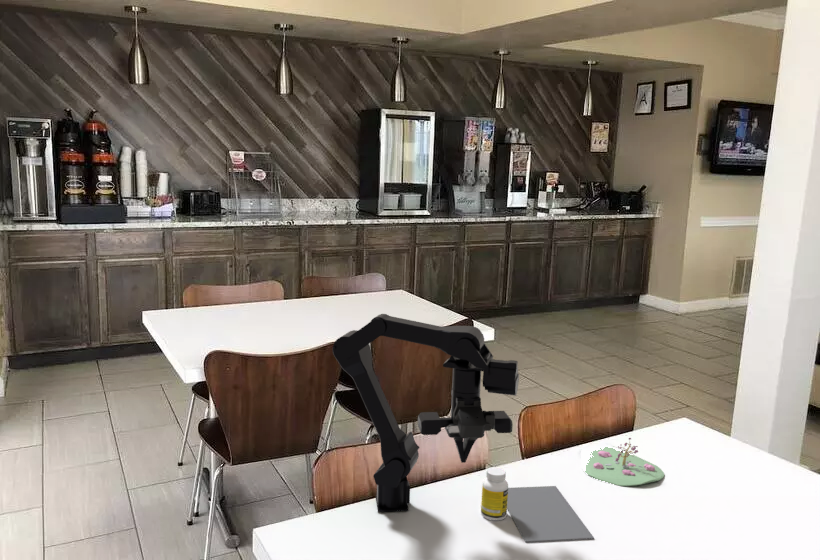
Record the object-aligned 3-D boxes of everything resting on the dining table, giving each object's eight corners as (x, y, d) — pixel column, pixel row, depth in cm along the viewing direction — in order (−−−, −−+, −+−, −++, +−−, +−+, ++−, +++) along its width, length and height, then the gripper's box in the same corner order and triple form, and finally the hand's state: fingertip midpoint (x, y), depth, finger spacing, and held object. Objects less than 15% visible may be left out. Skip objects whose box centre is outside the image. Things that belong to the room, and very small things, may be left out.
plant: (553, 450, 174) (555, 417, 173) (620, 442, 181) (623, 410, 179) (608, 494, 151) (611, 456, 149) (683, 483, 157) (687, 447, 156)
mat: (525, 542, 129) (525, 541, 129) (496, 489, 150) (496, 488, 150) (594, 539, 131) (594, 537, 131) (555, 487, 152) (555, 485, 152)
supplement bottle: (505, 523, 136) (508, 478, 135) (479, 519, 137) (481, 475, 136) (507, 510, 141) (509, 467, 140) (482, 507, 142) (484, 464, 141)
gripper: (426, 403, 125) (424, 481, 127) (522, 402, 127) (518, 478, 130) (418, 385, 136) (416, 456, 138) (506, 383, 138) (502, 454, 141)
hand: (462, 461), depth 136 cm, fingers closed
